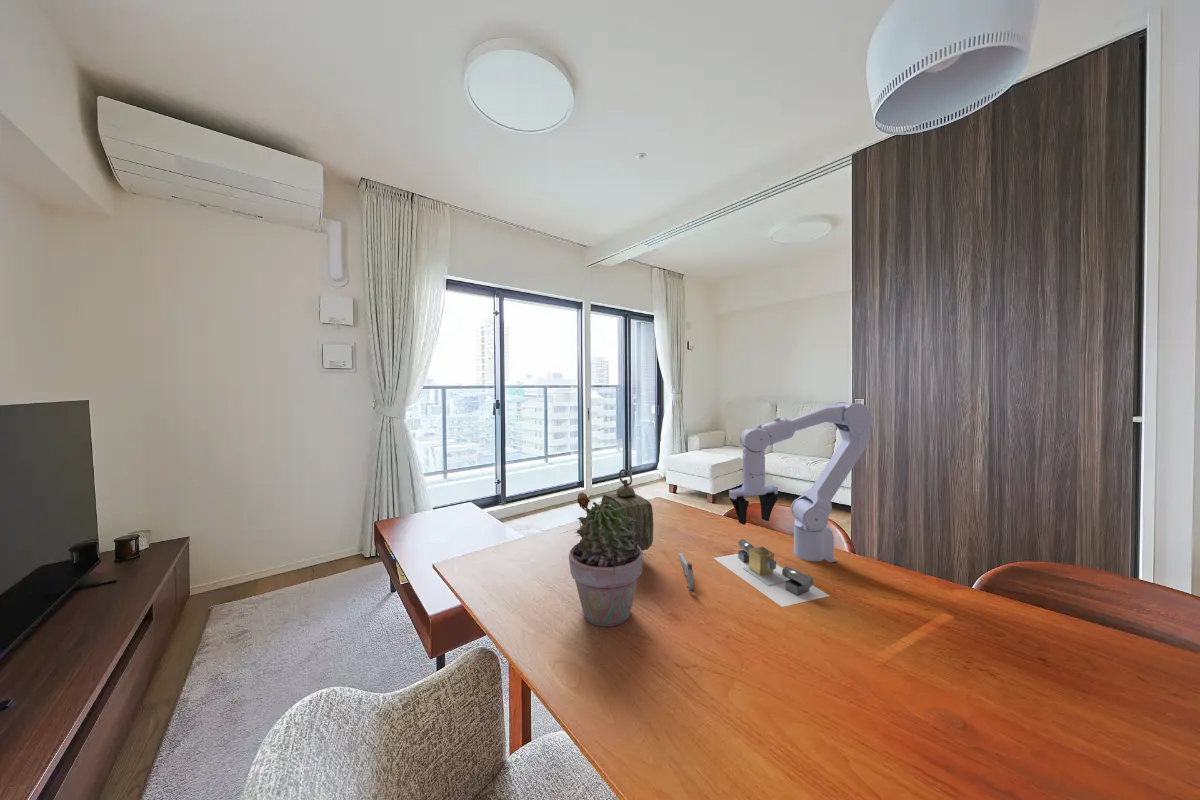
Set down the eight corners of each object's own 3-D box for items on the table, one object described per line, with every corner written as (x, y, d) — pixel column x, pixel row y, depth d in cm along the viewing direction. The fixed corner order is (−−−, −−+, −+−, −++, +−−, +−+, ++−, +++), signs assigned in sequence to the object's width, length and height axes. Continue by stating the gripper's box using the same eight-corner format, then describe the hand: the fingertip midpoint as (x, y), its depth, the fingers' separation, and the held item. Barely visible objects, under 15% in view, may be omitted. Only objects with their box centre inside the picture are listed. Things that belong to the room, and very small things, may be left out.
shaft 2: (779, 587, 91) (779, 568, 91) (791, 582, 93) (791, 564, 93) (803, 599, 86) (803, 579, 86) (815, 594, 88) (815, 574, 88)
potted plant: (655, 646, 73) (653, 513, 72) (553, 635, 77) (550, 508, 76) (660, 595, 91) (658, 487, 90) (577, 588, 95) (575, 484, 94)
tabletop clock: (601, 552, 114) (600, 466, 113) (629, 546, 118) (628, 463, 117) (626, 573, 101) (624, 476, 100) (656, 566, 105) (654, 472, 104)
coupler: (756, 561, 103) (757, 543, 103) (779, 577, 96) (780, 557, 95) (743, 564, 102) (744, 545, 101) (765, 580, 94) (766, 559, 94)
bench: (753, 554, 111) (753, 549, 111) (830, 600, 87) (830, 594, 87) (713, 561, 107) (713, 556, 107) (782, 611, 83) (782, 605, 83)
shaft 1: (735, 555, 108) (735, 539, 108) (749, 554, 109) (749, 538, 109) (746, 565, 102) (746, 548, 102) (761, 564, 103) (761, 547, 103)
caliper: (693, 593, 92) (693, 567, 92) (688, 593, 92) (688, 566, 92) (681, 555, 112) (680, 533, 112) (677, 555, 112) (677, 533, 112)
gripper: (765, 467, 115) (765, 514, 115) (722, 471, 110) (722, 520, 111) (783, 472, 108) (783, 522, 108) (738, 477, 103) (738, 528, 104)
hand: (753, 521), depth 109 cm, fingers open, 7 cm apart
